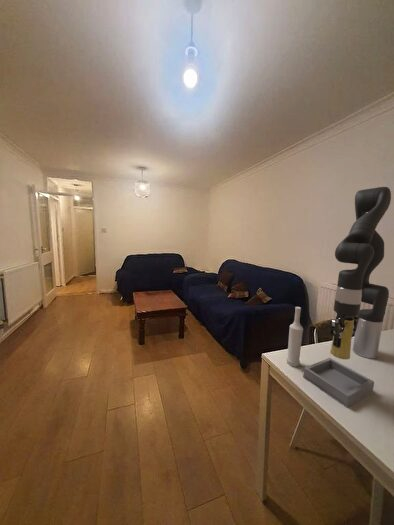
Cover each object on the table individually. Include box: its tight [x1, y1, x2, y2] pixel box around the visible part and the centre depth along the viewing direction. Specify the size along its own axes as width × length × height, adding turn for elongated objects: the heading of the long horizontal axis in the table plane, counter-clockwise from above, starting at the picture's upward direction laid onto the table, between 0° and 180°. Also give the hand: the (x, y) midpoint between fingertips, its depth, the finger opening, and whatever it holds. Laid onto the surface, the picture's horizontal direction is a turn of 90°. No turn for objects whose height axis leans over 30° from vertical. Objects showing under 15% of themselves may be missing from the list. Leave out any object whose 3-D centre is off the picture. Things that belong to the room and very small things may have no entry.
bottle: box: [286, 306, 304, 368], centre depth 91 cm, size 5×5×25 cm
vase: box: [330, 318, 354, 360], centre depth 78 cm, size 6×6×14 cm
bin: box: [302, 357, 375, 408], centre depth 80 cm, size 16×16×4 cm
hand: (341, 344), depth 78 cm, fingers closed on vase, 5 cm apart
